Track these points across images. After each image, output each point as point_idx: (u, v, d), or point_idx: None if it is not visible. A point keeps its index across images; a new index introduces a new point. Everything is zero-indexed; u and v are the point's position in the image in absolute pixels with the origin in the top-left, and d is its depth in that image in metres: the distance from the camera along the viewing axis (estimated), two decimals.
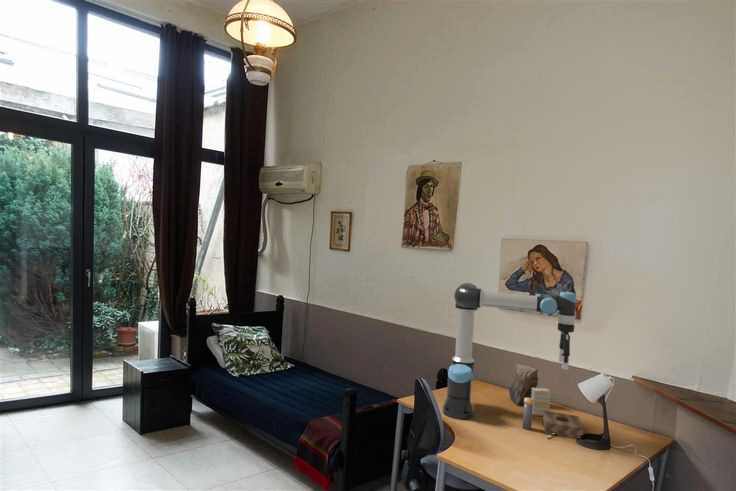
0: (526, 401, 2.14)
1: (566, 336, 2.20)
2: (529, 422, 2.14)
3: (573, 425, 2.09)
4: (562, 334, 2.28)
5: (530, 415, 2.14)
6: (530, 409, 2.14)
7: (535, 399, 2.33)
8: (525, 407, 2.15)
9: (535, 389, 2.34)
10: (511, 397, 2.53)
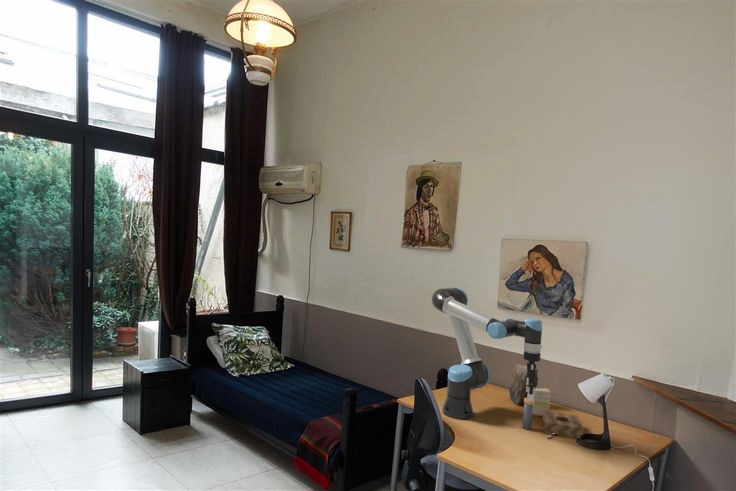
0: (526, 401, 2.14)
1: (531, 366, 2.09)
2: (529, 422, 2.14)
3: (573, 425, 2.09)
4: (528, 363, 2.16)
5: (530, 415, 2.14)
6: (530, 409, 2.14)
7: (535, 399, 2.33)
8: (525, 407, 2.15)
9: (535, 389, 2.34)
10: (511, 397, 2.53)
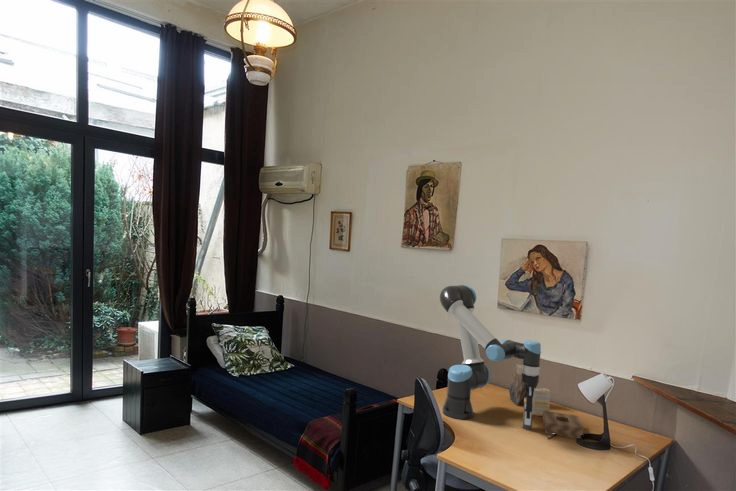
0: None
1: (529, 393, 2.09)
2: None
3: (573, 425, 2.09)
4: (526, 385, 2.17)
5: None
6: None
7: (535, 399, 2.33)
8: (525, 407, 2.15)
9: (535, 389, 2.34)
10: (511, 397, 2.53)
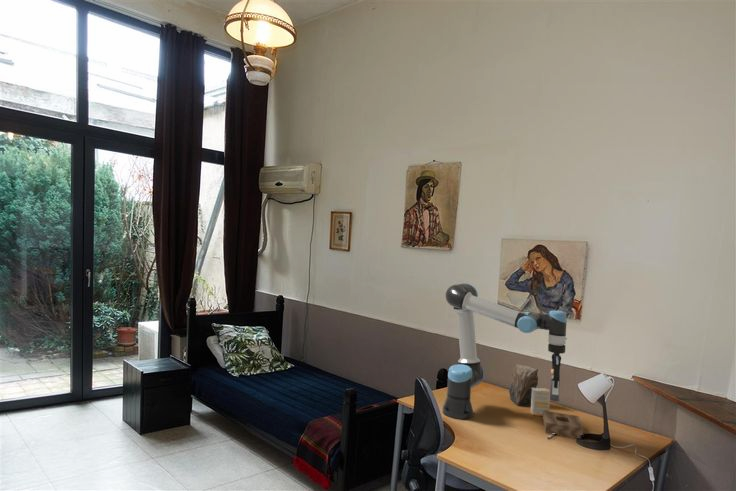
0: None
1: (556, 362, 2.09)
2: None
3: (573, 425, 2.09)
4: (553, 355, 2.17)
5: None
6: None
7: (535, 399, 2.33)
8: (552, 378, 2.15)
9: (535, 389, 2.34)
10: (511, 397, 2.53)
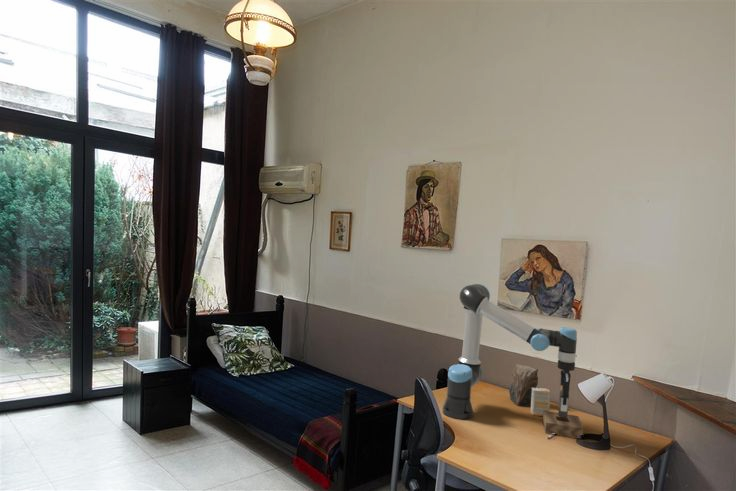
0: None
1: (566, 379, 2.10)
2: None
3: (573, 425, 2.09)
4: (562, 371, 2.18)
5: None
6: None
7: (535, 399, 2.33)
8: (561, 395, 2.16)
9: (535, 389, 2.34)
10: (511, 397, 2.53)
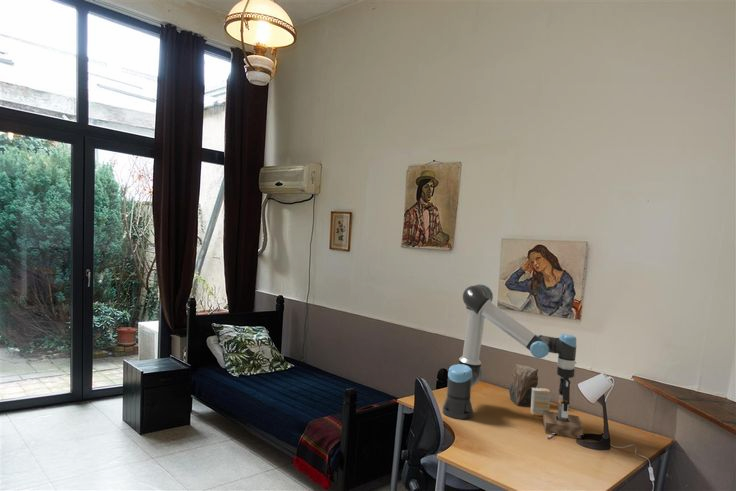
0: None
1: (566, 383, 2.10)
2: None
3: (573, 425, 2.09)
4: (562, 379, 2.18)
5: None
6: None
7: (535, 399, 2.33)
8: (560, 408, 2.16)
9: (535, 389, 2.34)
10: (511, 397, 2.53)
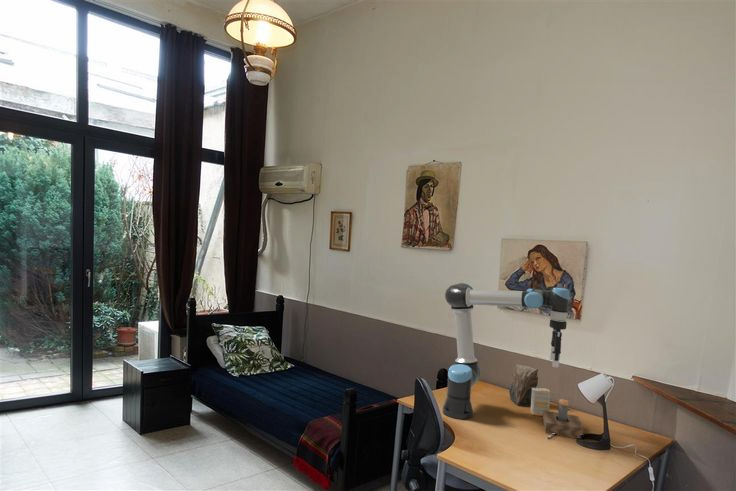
0: (561, 402, 2.15)
1: (558, 333, 2.13)
2: None
3: (573, 425, 2.09)
4: (554, 331, 2.21)
5: (565, 416, 2.15)
6: (565, 410, 2.15)
7: (535, 399, 2.33)
8: (560, 408, 2.16)
9: (535, 389, 2.34)
10: (511, 397, 2.53)
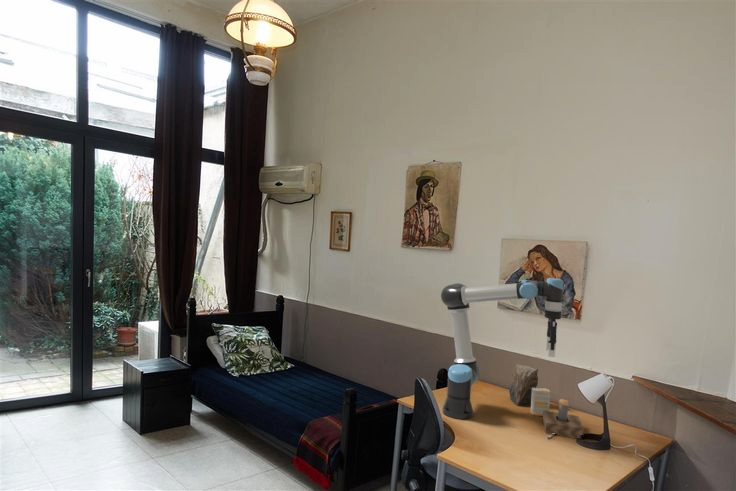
0: (561, 402, 2.15)
1: (553, 323, 2.15)
2: None
3: (573, 425, 2.09)
4: (549, 321, 2.23)
5: (565, 416, 2.15)
6: (565, 410, 2.15)
7: (535, 399, 2.33)
8: (560, 408, 2.16)
9: (535, 389, 2.34)
10: (511, 397, 2.53)
